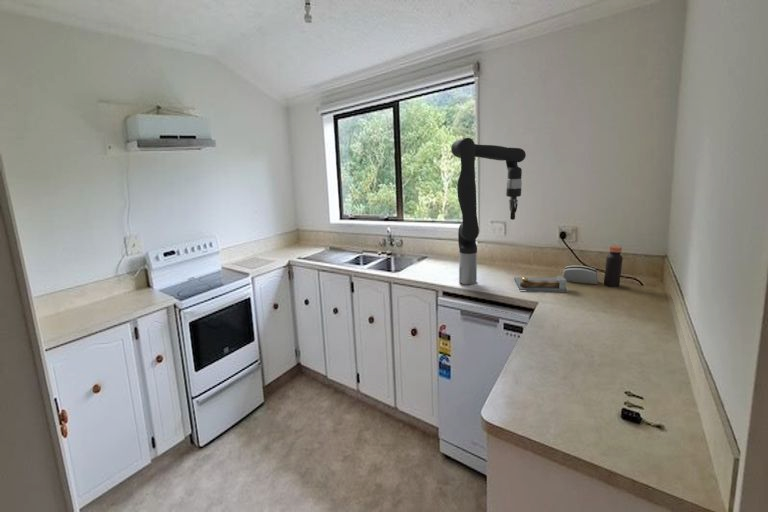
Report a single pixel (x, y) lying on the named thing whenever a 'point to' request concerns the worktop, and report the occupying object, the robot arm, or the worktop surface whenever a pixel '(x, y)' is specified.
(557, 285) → the link
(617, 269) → the bottle
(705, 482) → the worktop surface
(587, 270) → the grey napkin holder
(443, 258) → the worktop surface
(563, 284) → the keeper
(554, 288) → the board
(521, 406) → the worktop surface
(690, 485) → the worktop surface
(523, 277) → the pintle
